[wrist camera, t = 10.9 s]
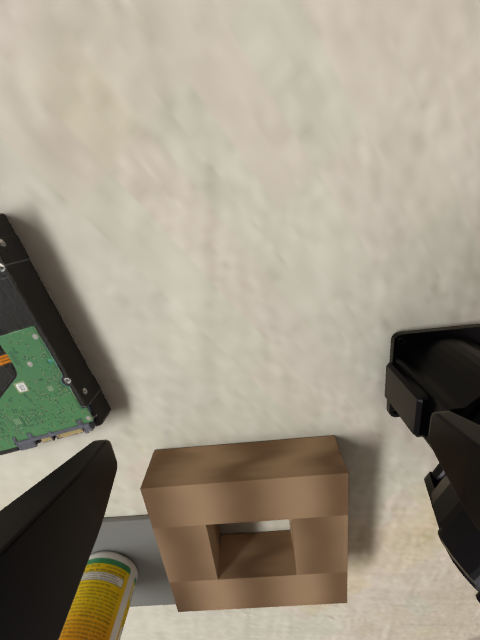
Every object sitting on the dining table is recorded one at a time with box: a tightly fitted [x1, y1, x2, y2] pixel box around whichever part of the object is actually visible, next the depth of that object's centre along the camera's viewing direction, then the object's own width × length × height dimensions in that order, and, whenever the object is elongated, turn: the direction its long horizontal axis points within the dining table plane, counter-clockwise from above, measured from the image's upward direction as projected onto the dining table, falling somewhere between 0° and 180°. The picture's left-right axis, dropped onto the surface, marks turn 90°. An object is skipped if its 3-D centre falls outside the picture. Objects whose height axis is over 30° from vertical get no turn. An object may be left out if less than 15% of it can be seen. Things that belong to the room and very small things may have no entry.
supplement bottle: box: [59, 551, 138, 640], centre depth 24 cm, size 5×5×10 cm
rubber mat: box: [91, 515, 176, 607], centre depth 29 cm, size 12×12×1 cm
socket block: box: [140, 435, 349, 612], centre depth 25 cm, size 14×14×4 cm
